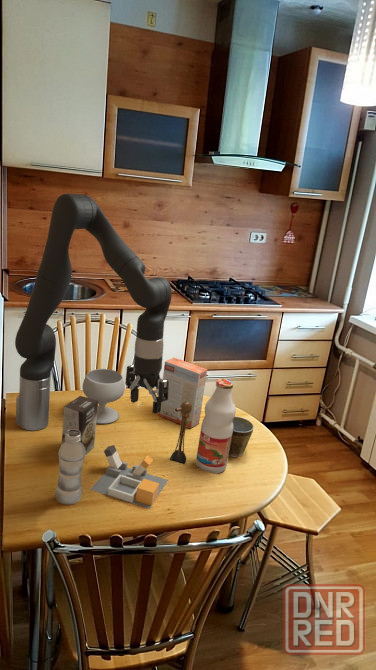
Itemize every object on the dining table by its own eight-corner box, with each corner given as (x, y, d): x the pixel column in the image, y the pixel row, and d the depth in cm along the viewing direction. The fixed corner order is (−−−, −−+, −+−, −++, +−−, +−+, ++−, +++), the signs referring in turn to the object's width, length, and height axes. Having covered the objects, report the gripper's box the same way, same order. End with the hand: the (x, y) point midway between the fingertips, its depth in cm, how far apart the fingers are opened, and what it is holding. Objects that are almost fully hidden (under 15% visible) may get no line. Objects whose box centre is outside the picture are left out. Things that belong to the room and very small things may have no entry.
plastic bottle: (57, 492, 136) (60, 425, 129) (83, 493, 137) (88, 427, 130) (52, 508, 130) (56, 438, 123) (80, 509, 131) (85, 440, 124)
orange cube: (135, 500, 135) (137, 487, 134) (142, 491, 139) (143, 478, 138) (151, 505, 134) (153, 492, 133) (157, 496, 138) (159, 483, 137)
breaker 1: (111, 470, 145) (103, 451, 144) (116, 465, 147) (108, 446, 146) (117, 468, 144) (109, 449, 143) (122, 463, 147) (114, 444, 146)
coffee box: (79, 462, 150) (82, 412, 145) (60, 455, 152) (62, 406, 146) (95, 447, 158) (99, 400, 153) (76, 441, 160) (80, 394, 155)
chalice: (88, 428, 168) (91, 387, 163) (74, 409, 179) (77, 369, 174) (128, 422, 175) (132, 382, 170) (112, 404, 186) (116, 365, 181)
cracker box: (199, 423, 181) (208, 368, 174) (190, 429, 176) (199, 373, 169) (167, 409, 188) (174, 356, 181) (157, 415, 183) (164, 360, 176)
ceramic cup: (254, 453, 167) (260, 426, 164) (235, 463, 160) (240, 435, 157) (223, 436, 175) (228, 409, 172) (204, 445, 168) (208, 417, 165)
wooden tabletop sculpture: (172, 467, 154) (181, 407, 147) (164, 459, 157) (172, 400, 151) (188, 463, 157) (198, 404, 150) (180, 455, 160) (189, 397, 154)
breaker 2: (131, 473, 143) (143, 460, 141) (135, 468, 146) (147, 455, 143) (137, 478, 143) (149, 465, 140) (141, 472, 145) (153, 459, 143)
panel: (89, 493, 137) (90, 483, 136) (112, 466, 150) (113, 457, 149) (149, 513, 133) (150, 502, 132) (167, 483, 146) (169, 474, 145)
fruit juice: (232, 468, 157) (248, 385, 148) (210, 478, 151) (225, 391, 142) (210, 453, 164) (224, 372, 154) (189, 462, 157) (202, 378, 148)
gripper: (120, 347, 139) (117, 402, 144) (157, 364, 130) (153, 421, 136) (140, 342, 144) (137, 394, 150) (177, 357, 136) (173, 412, 141)
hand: (145, 407), depth 143 cm, fingers open, 8 cm apart
